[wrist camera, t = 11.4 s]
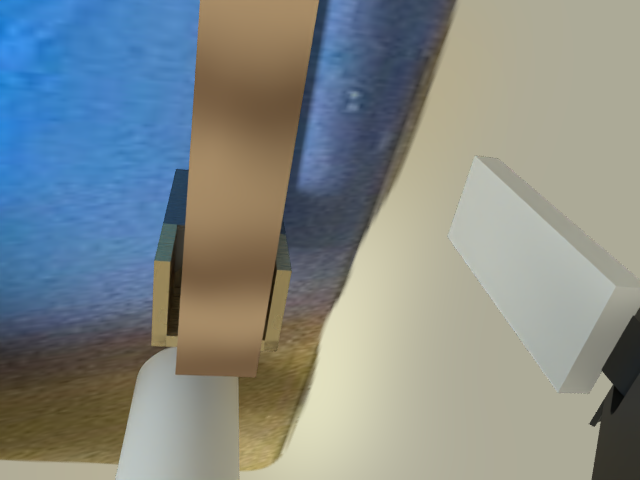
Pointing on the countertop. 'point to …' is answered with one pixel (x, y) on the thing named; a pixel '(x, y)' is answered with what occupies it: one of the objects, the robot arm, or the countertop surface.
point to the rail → (239, 176)
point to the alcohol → (181, 425)
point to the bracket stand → (171, 275)
